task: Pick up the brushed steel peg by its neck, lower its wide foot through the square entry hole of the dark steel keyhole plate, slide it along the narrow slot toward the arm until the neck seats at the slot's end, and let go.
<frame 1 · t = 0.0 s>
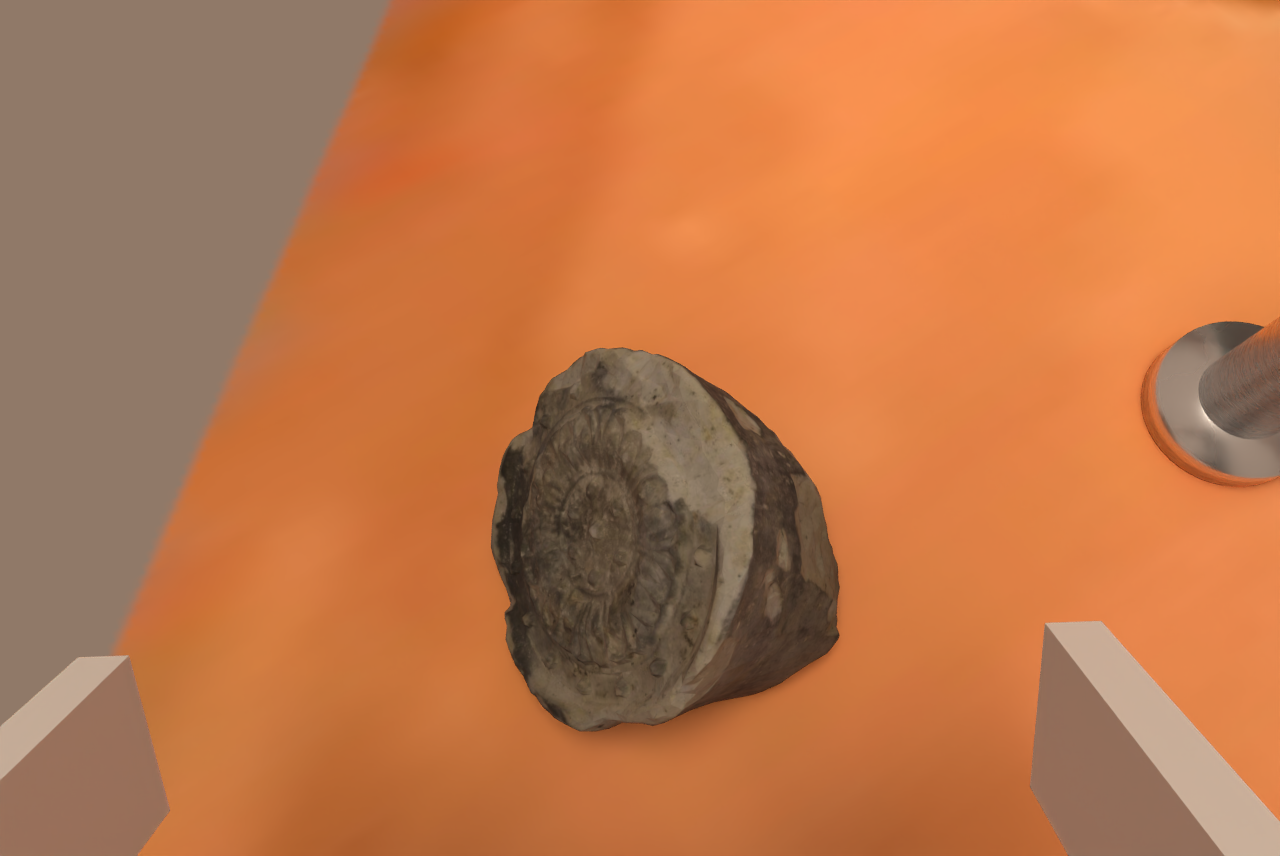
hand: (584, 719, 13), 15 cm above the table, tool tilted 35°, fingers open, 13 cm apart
steel peg: (1223, 409, 30), on the table
fossil: (647, 556, 30), on the table
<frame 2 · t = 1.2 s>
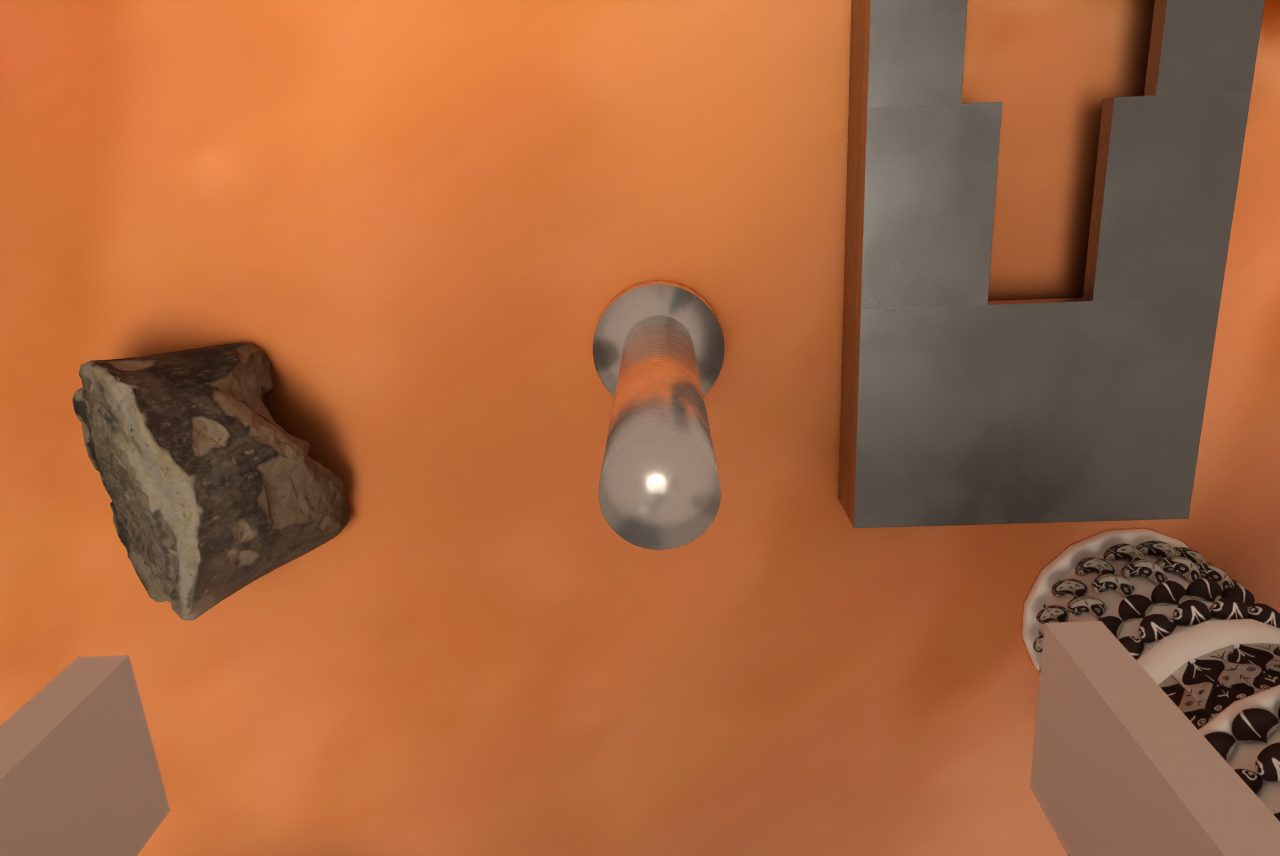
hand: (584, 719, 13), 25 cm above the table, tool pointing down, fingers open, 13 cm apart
keyhole plate: (1016, 178, 35), on the table
decorative candle: (1115, 613, 40), on the table
steel peg: (658, 344, 37), on the table
fossil: (219, 451, 39), on the table
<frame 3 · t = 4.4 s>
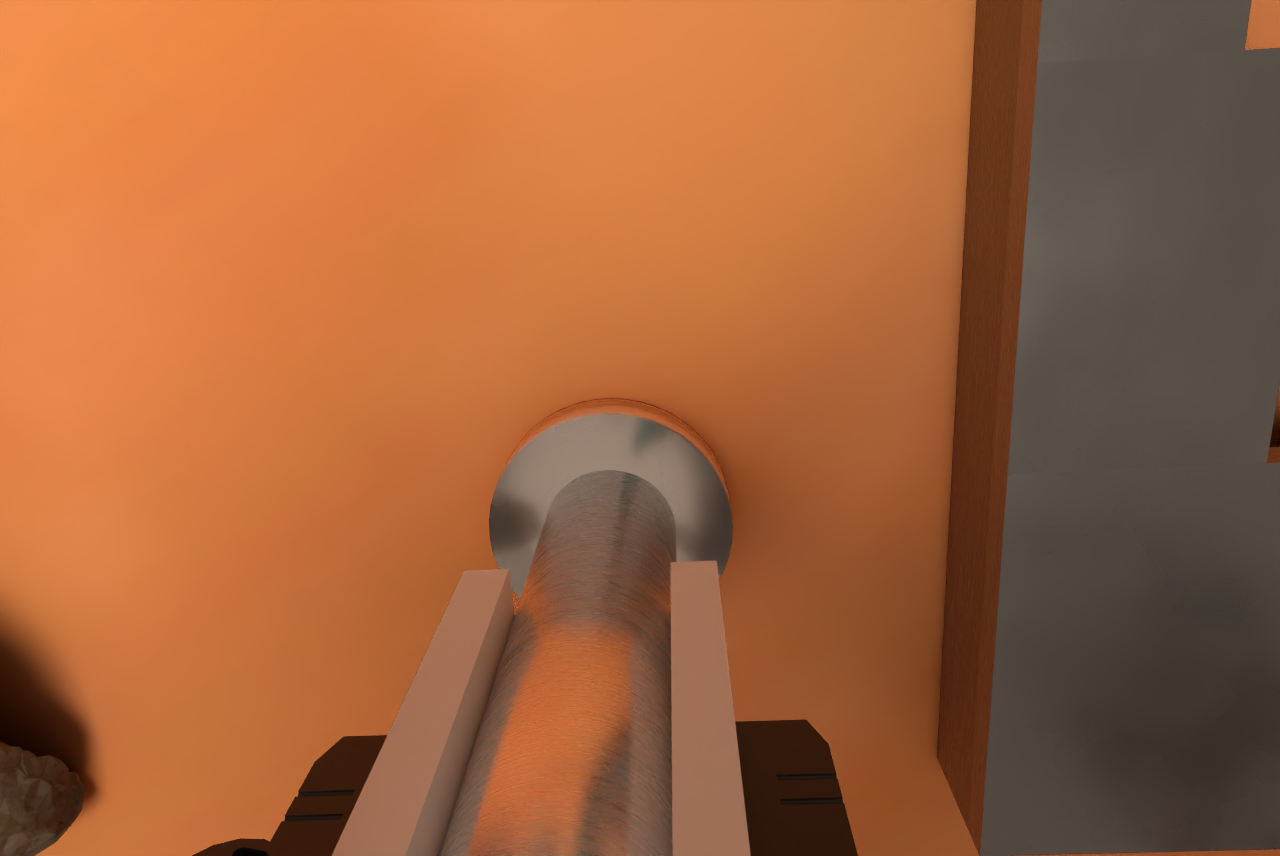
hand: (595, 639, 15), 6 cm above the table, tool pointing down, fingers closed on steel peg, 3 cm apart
steel peg: (613, 509, 20), on the table, touching gripper
when the fingers open (6 cm above the table, at t = 12.8 s): steel peg stays where it is, on the table.
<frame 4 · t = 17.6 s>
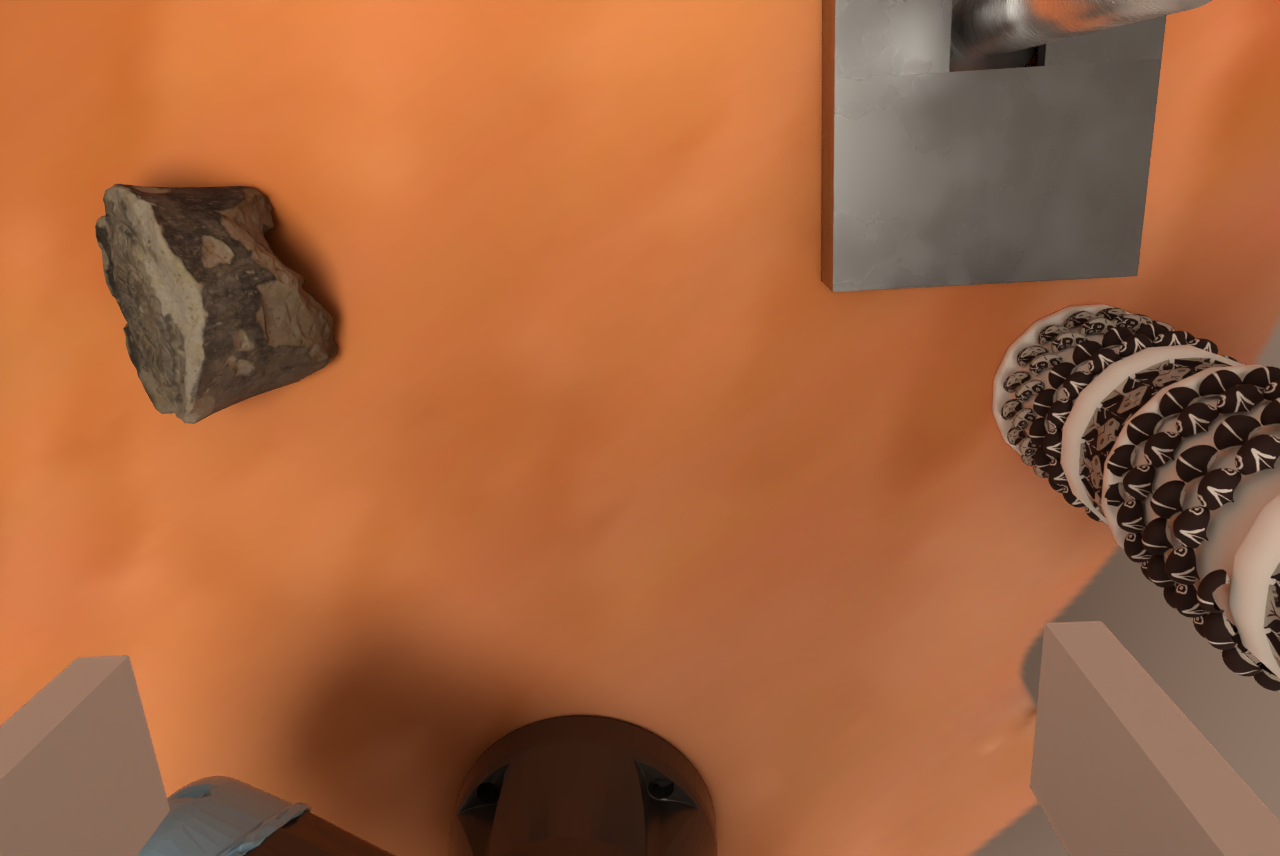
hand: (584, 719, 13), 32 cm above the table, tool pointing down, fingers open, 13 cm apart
decorative candle: (1078, 389, 44), on the table
steel peg: (972, 26, 39), on the table
fossil: (222, 288, 44), on the table
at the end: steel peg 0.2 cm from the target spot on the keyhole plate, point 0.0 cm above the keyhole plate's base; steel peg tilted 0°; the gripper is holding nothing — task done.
